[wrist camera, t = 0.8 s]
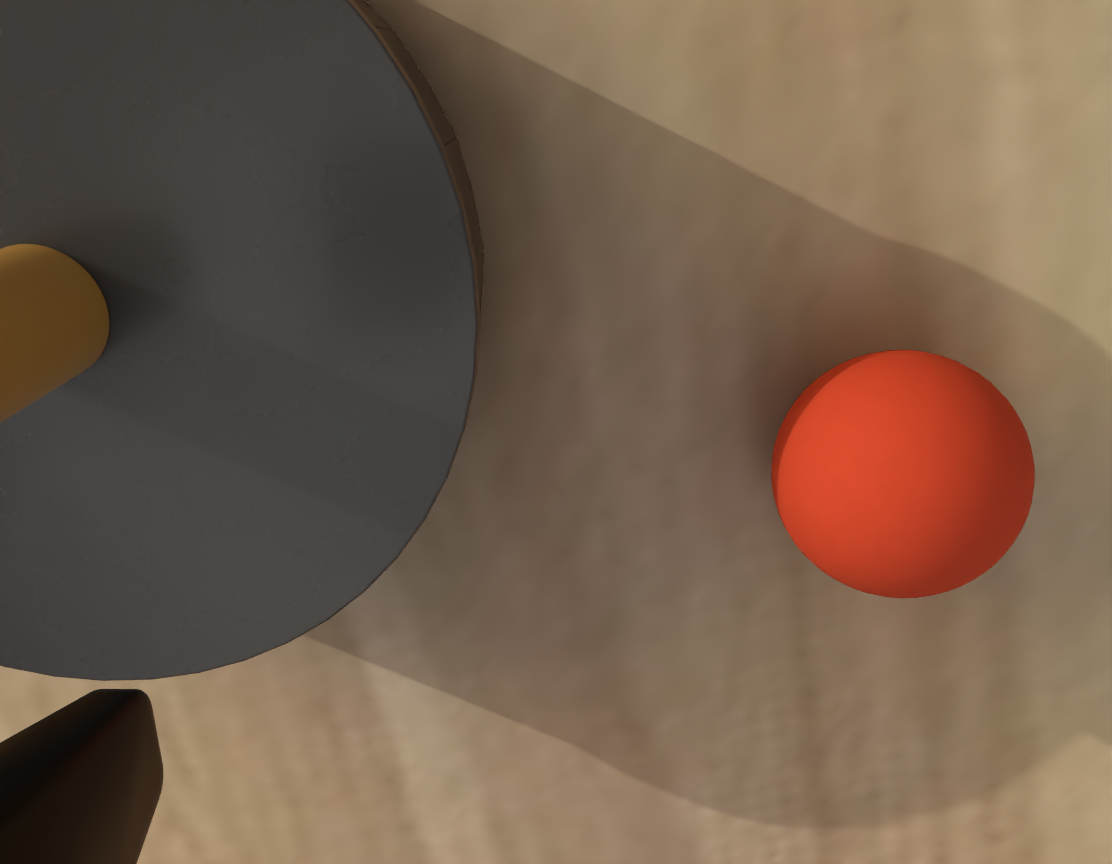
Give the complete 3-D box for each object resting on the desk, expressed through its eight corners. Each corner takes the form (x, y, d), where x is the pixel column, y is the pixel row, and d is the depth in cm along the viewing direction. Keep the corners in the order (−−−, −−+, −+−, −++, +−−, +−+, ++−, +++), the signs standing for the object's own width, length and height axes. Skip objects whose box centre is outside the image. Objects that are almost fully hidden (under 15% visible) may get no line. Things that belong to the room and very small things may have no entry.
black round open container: (351, 647, 24) (311, 750, 21) (-242, 423, 22) (-401, 492, 19) (593, 81, 19) (597, 84, 16) (-136, -264, 18) (-322, -350, 14)
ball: (901, 559, 23) (983, 684, 18) (714, 480, 22) (750, 588, 18) (1019, 377, 21) (1142, 463, 17) (820, 286, 21) (891, 349, 16)
